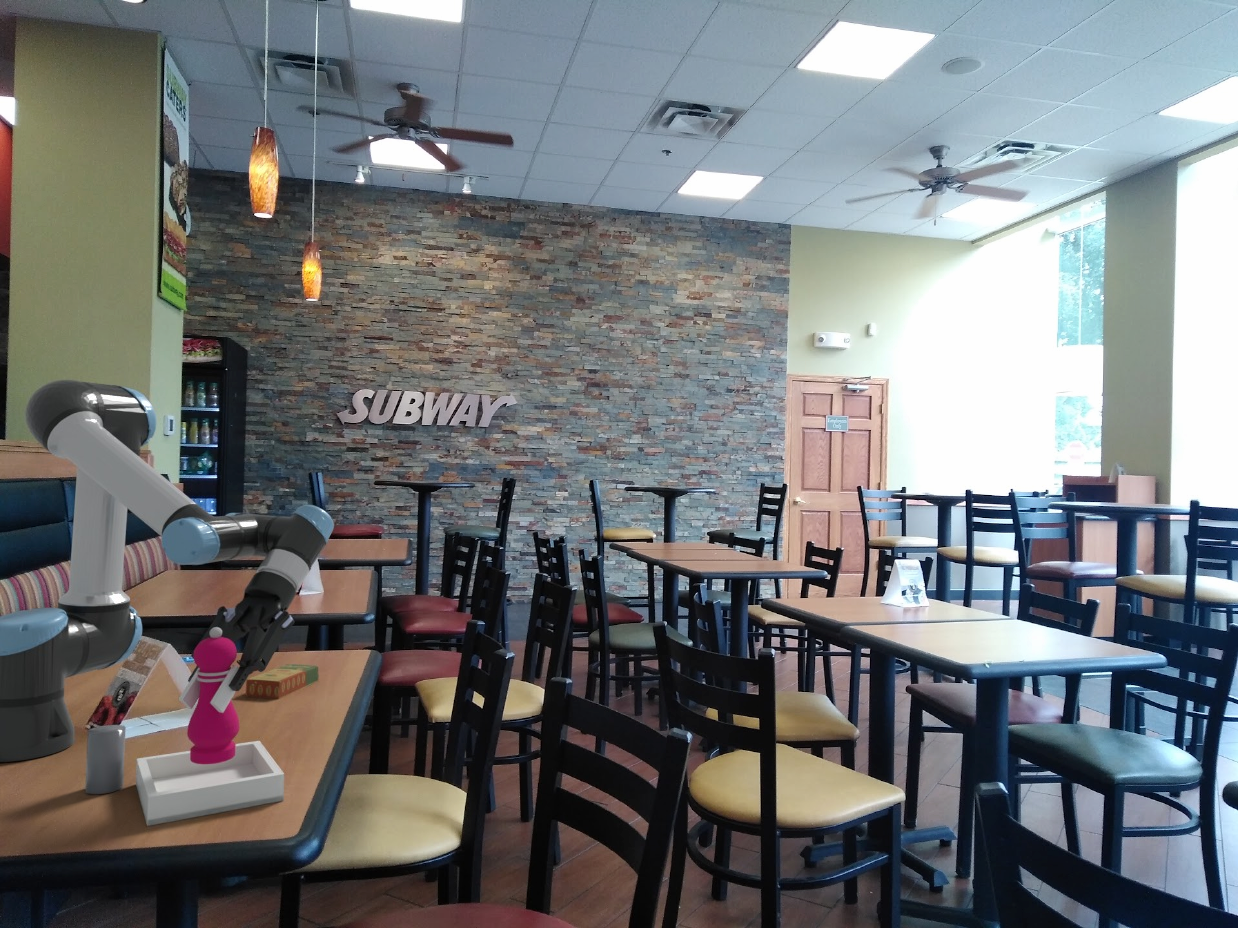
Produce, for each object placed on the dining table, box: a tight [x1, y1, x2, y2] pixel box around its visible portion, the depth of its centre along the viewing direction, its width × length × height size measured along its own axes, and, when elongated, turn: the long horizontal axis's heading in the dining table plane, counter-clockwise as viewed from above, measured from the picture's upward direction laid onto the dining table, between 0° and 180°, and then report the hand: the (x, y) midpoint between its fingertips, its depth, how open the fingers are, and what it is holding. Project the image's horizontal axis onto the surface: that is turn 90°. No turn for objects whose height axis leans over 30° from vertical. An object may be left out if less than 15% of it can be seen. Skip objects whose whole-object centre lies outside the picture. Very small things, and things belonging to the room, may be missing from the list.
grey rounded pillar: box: [84, 724, 126, 795], centre depth 130 cm, size 5×5×9 cm
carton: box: [245, 663, 319, 700], centre depth 190 cm, size 8×16×4 cm, turn 170°
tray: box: [135, 740, 285, 827], centre depth 130 cm, size 18×18×4 cm
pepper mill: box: [186, 627, 240, 764], centre depth 130 cm, size 7×7×20 cm
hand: (201, 705), depth 127 cm, fingers closed on pepper mill, 5 cm apart
